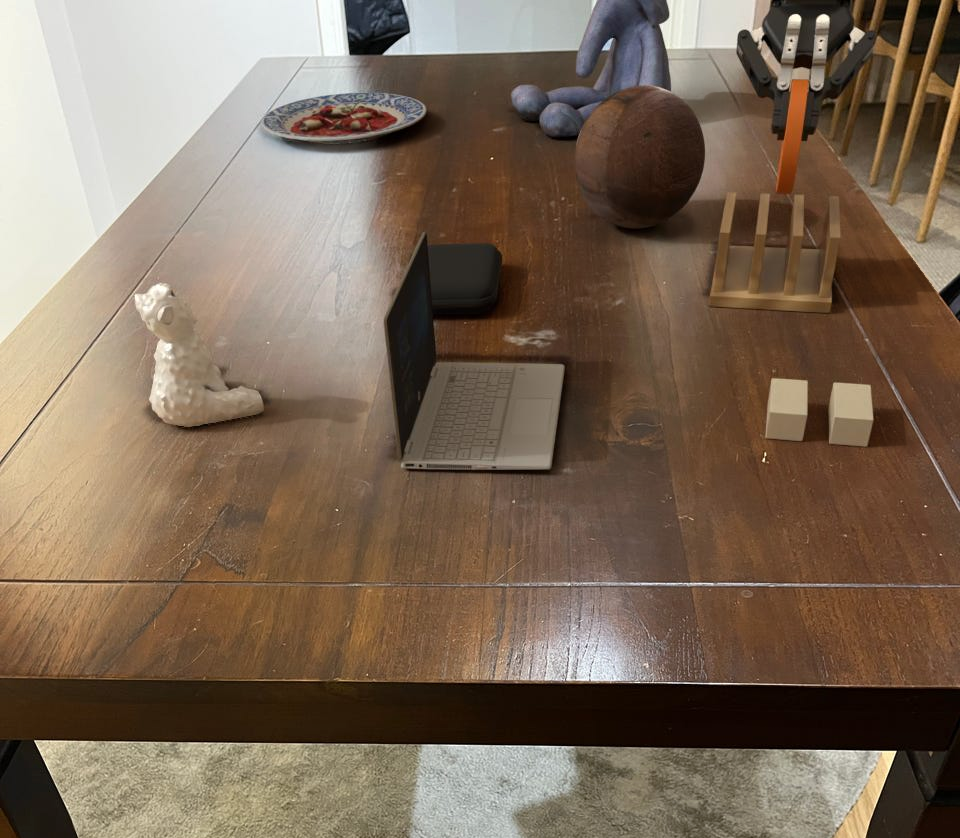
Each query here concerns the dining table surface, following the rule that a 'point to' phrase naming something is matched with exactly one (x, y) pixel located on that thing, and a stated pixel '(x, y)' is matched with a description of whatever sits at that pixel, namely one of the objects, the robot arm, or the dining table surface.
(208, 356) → the white creature statuette
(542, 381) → the laptop
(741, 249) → the rack
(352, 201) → the dining table surface
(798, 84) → the disc
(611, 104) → the wooden sphere
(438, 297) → the carrying case
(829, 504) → the dining table surface
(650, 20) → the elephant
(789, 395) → the cubes
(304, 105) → the ceramic plate
